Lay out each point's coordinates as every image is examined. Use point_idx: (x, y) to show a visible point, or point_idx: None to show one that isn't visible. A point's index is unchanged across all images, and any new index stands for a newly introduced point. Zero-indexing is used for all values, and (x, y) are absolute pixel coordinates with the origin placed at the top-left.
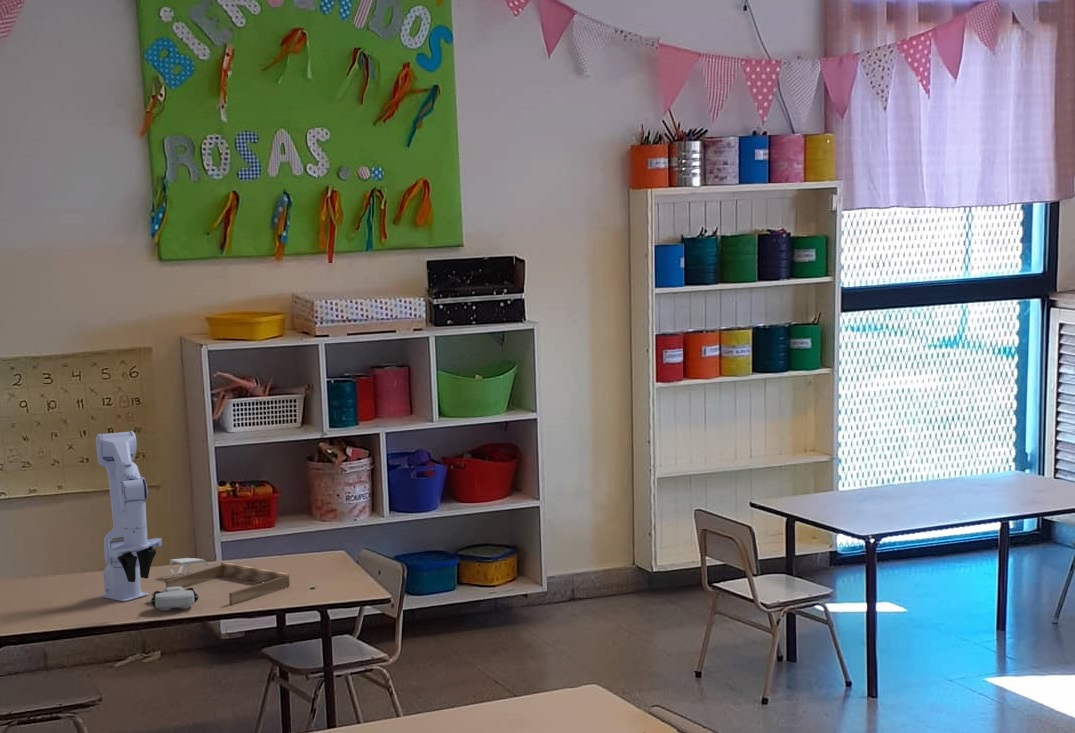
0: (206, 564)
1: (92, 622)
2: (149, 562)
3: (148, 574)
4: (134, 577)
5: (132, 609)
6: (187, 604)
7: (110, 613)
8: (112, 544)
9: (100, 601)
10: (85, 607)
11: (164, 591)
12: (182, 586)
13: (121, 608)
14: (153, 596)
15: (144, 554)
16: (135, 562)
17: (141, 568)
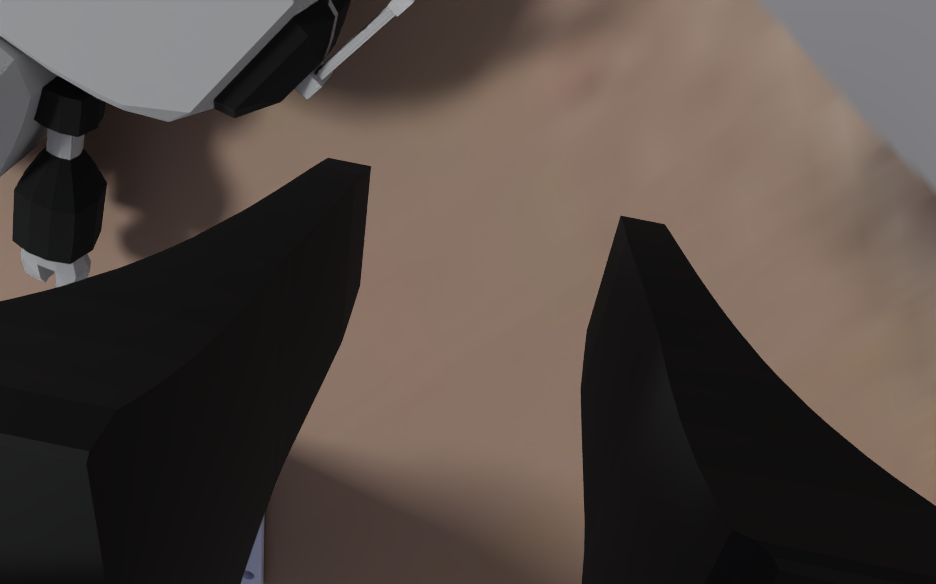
0: None
1: (854, 318)
2: (205, 282)
3: (308, 174)
4: (658, 250)
5: (379, 248)
6: None
7: (555, 341)
8: None
9: (331, 555)
10: (489, 563)
11: (15, 140)
12: None
13: (398, 346)
14: (242, 100)
15: (172, 554)
16: (711, 439)
17: (309, 375)
